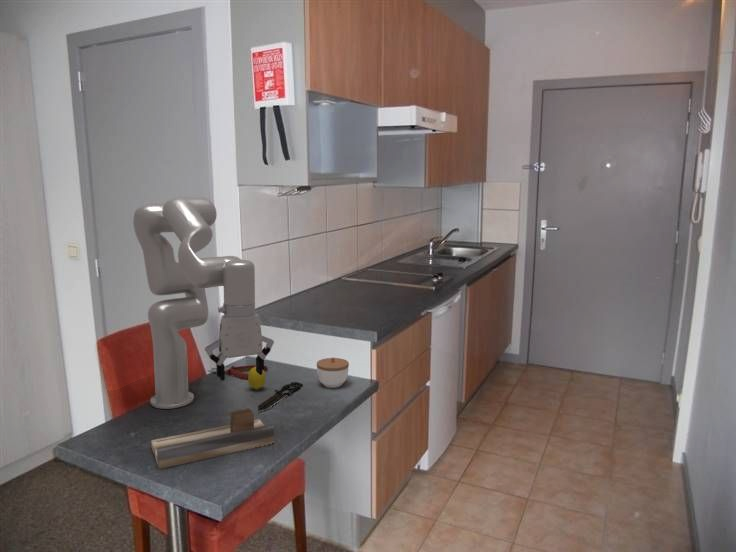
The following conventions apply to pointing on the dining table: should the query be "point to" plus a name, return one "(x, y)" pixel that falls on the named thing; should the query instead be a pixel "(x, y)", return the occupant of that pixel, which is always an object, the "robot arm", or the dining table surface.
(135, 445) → the dining table surface
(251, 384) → the lemon
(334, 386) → the lidded jar
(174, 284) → the robot arm
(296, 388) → the knife
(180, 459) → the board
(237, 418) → the brown block with peg
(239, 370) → the pliers
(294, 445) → the dining table surface
